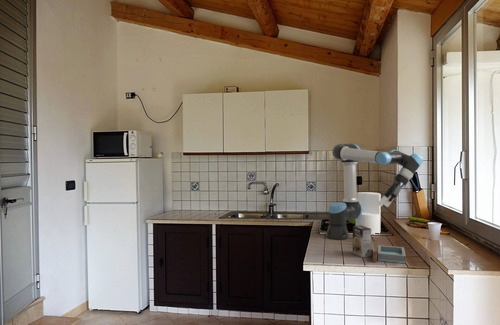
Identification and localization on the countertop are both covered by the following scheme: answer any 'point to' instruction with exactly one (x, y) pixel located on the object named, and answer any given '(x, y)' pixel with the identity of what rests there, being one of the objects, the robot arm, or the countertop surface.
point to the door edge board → (375, 250)
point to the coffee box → (362, 241)
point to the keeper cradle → (391, 254)
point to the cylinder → (369, 211)
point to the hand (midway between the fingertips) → (382, 205)
